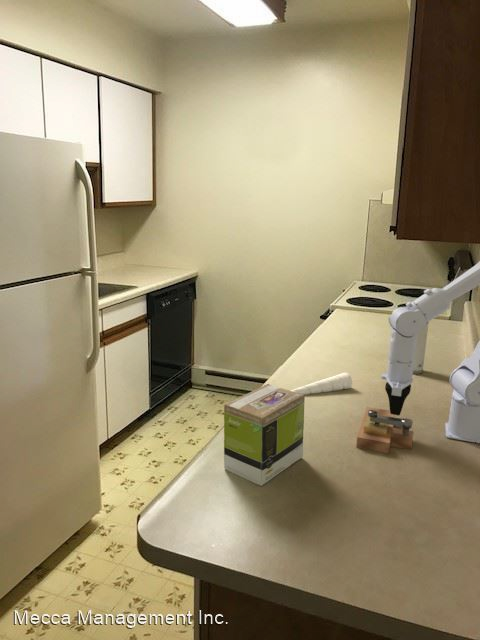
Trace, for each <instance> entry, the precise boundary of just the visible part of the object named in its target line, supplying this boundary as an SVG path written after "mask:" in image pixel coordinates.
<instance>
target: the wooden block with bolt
mask: <svg viewBox="0 0 480 640" xmlns="http://www.w3.org/2000/svg"><path fill="white" fill-rule="evenodd" d="M387 430H388V424H384V423H378V422H372V421H370V417H369V416H367V418H366V422H365V425H364V432H365V433H370V434H376V435H381V436H386V434H387Z"/></svg>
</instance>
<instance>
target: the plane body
mask: <svg viewBox="0 0 480 640" xmlns="http://www.w3.org/2000/svg"><path fill="white" fill-rule="evenodd" d="M369 410H375V411H377V415H382V416H388V417H394V418H396V417H395V416H396V415H394V414H391V413H390V409H389V410H388V409H382V408H378V407H377V408H376V407H371V406H366V408H365V412H364V415H363V418H362V420H361V425H360V426H359V431H358V434H357V436H356V437H357V438H356V447H355V448H358V449H365V450H368V451H375V452H380V453H384V454H389V453H390V447H394V448H398V449H399V448H400V449H406V450H410V451H411V450H412V445H413V437H414V436H413V435H414V431H413V430H410V429H406V428H403V427H402V428H396V427H394V426H395V425H390V424H388V430H387V434H386V436H381V435H376V434H370V433H365V432H364V425H365V422H366V418H367V416H368V411H369Z"/></svg>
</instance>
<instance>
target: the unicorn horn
mask: <svg viewBox="0 0 480 640" xmlns="http://www.w3.org/2000/svg"><path fill="white" fill-rule="evenodd" d="M352 386H353V378H352V376H351V374H349V373H348V372H342V373H339V374H337V375H333V376H330V377H327V378H324V379H321V380H318V381H314V382H311V383H308V384H306V385H302V386H298V387H296V388H294V389H291V390H290V391H293V392H296V393H300V394H303V395H306V396H307V395H310V394H311V395H313V394H320V393H327V392H328V393H329V392H332V391H333V392H334V391H342V390H348V389H351V388H352Z"/></svg>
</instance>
